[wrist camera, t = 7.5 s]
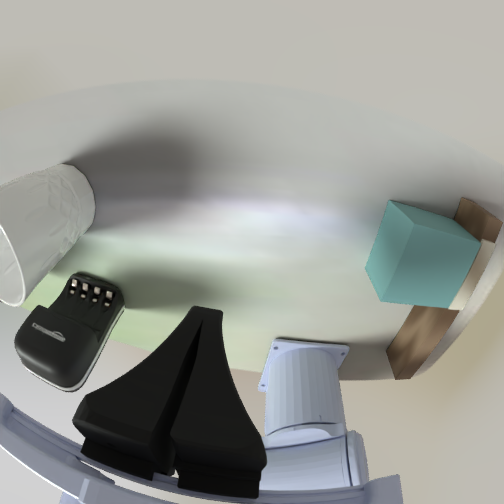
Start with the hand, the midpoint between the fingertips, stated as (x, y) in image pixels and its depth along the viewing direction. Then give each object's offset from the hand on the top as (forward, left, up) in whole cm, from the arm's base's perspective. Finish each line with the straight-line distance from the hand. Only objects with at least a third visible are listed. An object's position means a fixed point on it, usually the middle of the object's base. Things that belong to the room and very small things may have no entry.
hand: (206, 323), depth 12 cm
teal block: (+2, -15, -10) cm, 17 cm away
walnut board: (-2, -19, -9) cm, 21 cm away
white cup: (+1, +15, -10) cm, 18 cm away
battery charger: (-8, +13, -10) cm, 18 cm away
